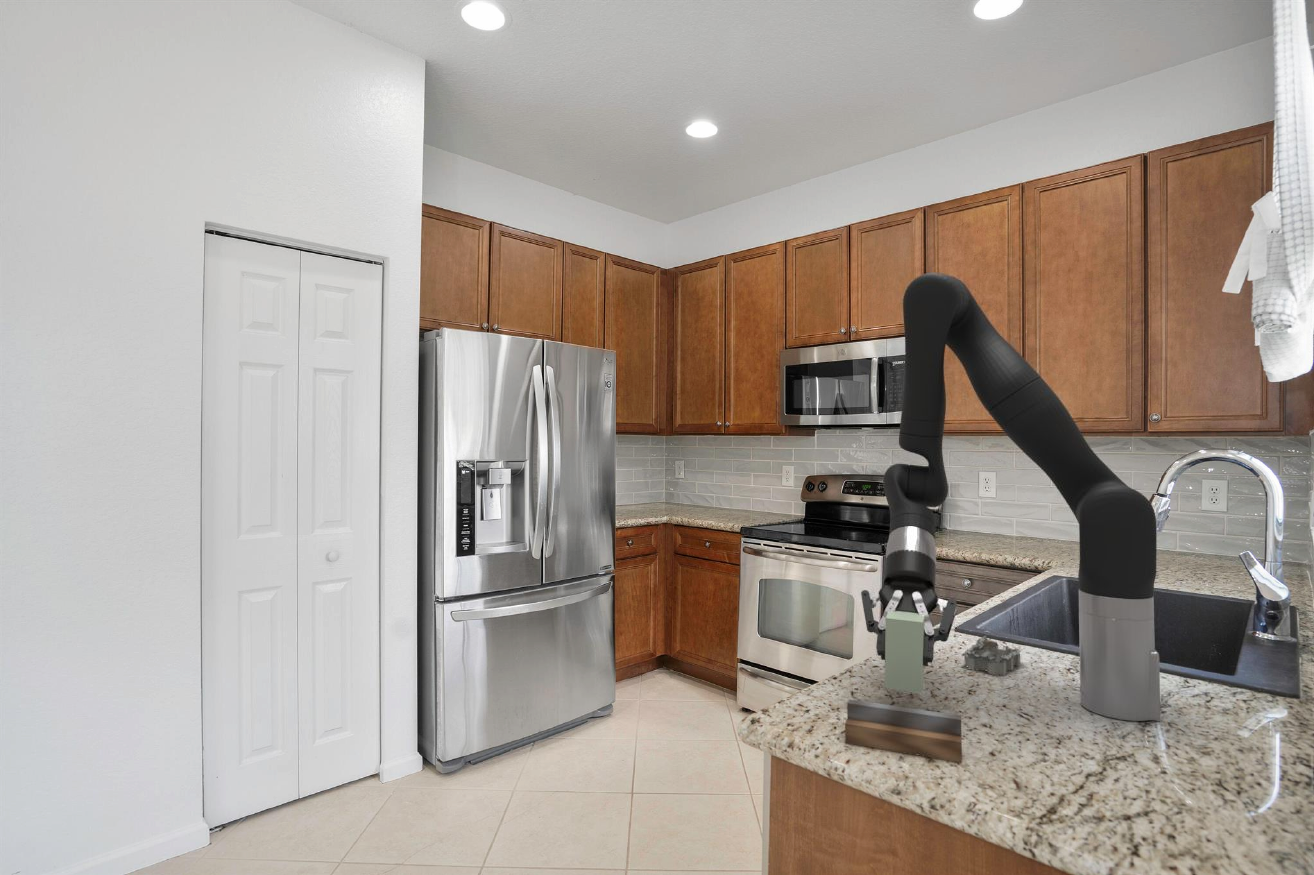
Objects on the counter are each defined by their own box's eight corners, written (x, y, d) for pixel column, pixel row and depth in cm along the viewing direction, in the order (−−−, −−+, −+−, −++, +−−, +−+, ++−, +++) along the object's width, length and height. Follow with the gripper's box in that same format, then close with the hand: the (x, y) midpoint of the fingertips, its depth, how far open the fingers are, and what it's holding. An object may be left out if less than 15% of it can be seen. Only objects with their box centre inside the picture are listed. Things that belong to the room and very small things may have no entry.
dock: (961, 729, 92) (961, 696, 92) (961, 762, 82) (961, 725, 83) (856, 713, 98) (856, 682, 98) (845, 742, 88) (844, 708, 88)
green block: (923, 682, 98) (924, 613, 98) (922, 693, 94) (923, 622, 94) (887, 676, 100) (888, 610, 100) (884, 687, 96) (885, 617, 96)
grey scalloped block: (985, 656, 125) (984, 634, 126) (1027, 666, 120) (1027, 643, 120) (957, 668, 119) (957, 644, 119) (1001, 679, 113) (1001, 654, 113)
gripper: (861, 544, 107) (849, 640, 96) (960, 551, 101) (959, 654, 90) (865, 571, 112) (854, 666, 101) (959, 580, 106) (959, 681, 95)
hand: (904, 659), depth 95 cm, fingers closed on green block, 5 cm apart
